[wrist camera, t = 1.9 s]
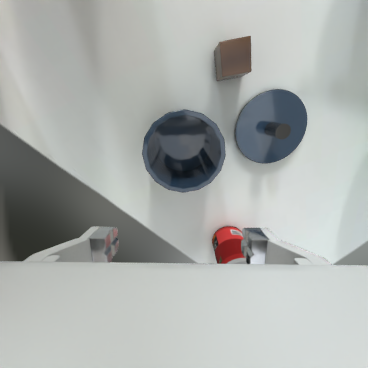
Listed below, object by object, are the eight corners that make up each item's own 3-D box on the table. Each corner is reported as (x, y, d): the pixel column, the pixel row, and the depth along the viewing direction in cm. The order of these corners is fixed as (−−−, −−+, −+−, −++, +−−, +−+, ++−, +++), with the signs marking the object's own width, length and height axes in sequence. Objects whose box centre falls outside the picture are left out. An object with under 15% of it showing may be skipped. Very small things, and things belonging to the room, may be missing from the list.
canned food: (207, 232, 44) (215, 268, 34) (238, 220, 43) (256, 254, 33) (217, 253, 47) (228, 293, 37) (246, 243, 46) (266, 281, 36)
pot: (144, 116, 34) (132, 119, 25) (210, 104, 33) (221, 102, 25) (159, 177, 39) (153, 197, 30) (216, 167, 38) (228, 185, 29)
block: (213, 50, 30) (219, 41, 26) (240, 45, 30) (250, 35, 26) (216, 81, 32) (222, 77, 28) (242, 76, 32) (251, 71, 28)
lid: (232, 97, 33) (241, 95, 28) (306, 83, 32) (329, 79, 27) (236, 166, 38) (244, 175, 33) (300, 155, 38) (319, 162, 33)
